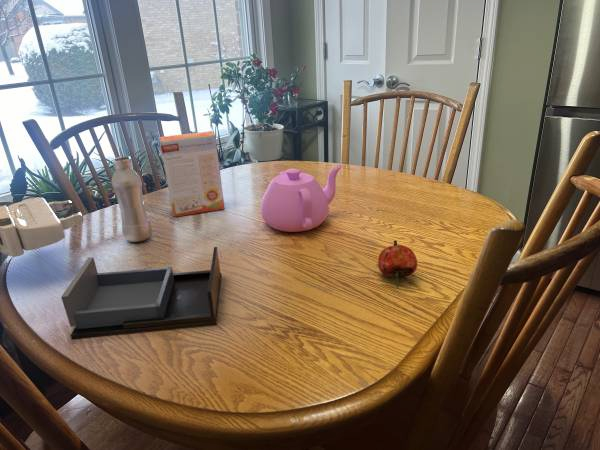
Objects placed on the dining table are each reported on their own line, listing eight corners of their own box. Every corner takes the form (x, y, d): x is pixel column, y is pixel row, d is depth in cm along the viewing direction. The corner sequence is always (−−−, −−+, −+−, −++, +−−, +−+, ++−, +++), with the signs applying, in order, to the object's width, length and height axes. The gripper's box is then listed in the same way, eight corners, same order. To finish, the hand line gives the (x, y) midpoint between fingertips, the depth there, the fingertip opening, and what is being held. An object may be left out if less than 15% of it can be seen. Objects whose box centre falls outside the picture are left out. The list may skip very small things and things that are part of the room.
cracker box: (221, 202, 126) (212, 130, 117) (225, 209, 121) (216, 134, 112) (171, 209, 122) (158, 135, 113) (173, 217, 117) (159, 140, 108)
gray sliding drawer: (71, 329, 73) (61, 296, 70) (96, 287, 85) (88, 257, 82) (162, 321, 74) (155, 288, 72) (174, 280, 86) (169, 250, 84)
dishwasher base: (71, 339, 72) (60, 305, 69) (100, 286, 87) (92, 256, 84) (216, 325, 74) (211, 291, 71) (221, 276, 89) (217, 246, 86)
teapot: (361, 229, 106) (363, 175, 100) (276, 246, 100) (272, 189, 94) (325, 199, 125) (325, 152, 119) (252, 212, 118) (247, 162, 113)
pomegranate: (417, 296, 84) (419, 248, 88) (414, 282, 78) (416, 232, 82) (379, 294, 86) (382, 248, 91) (373, 280, 80) (377, 232, 85)
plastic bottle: (141, 246, 102) (124, 164, 94) (118, 243, 104) (99, 162, 96) (158, 235, 107) (143, 155, 99) (136, 231, 110) (119, 154, 101)
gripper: (2, 226, 97) (69, 209, 104) (15, 260, 82) (92, 238, 89) (-7, 199, 94) (62, 184, 102) (4, 230, 79) (85, 210, 87)
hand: (77, 210), depth 95 cm, fingers open, 8 cm apart
